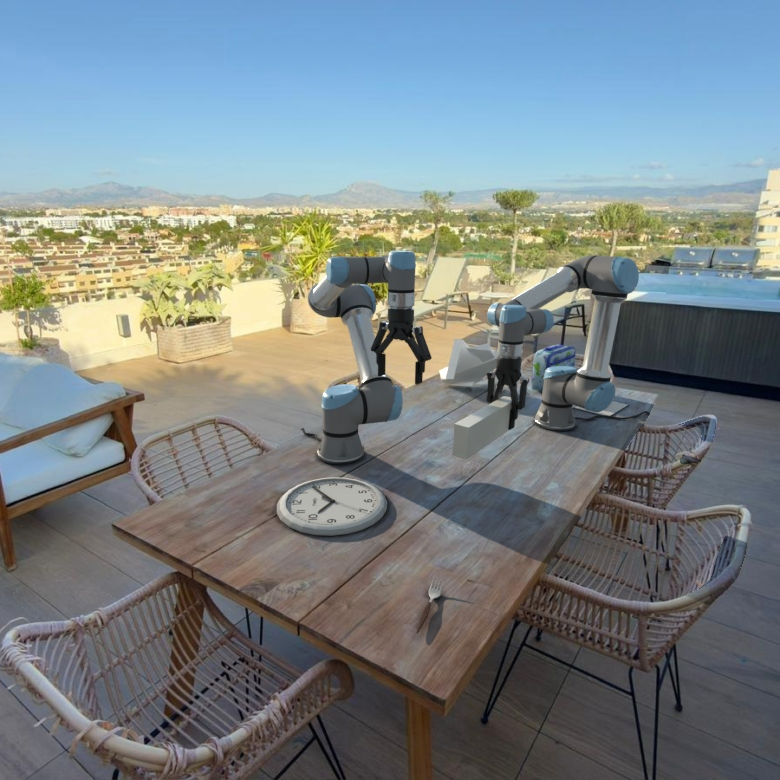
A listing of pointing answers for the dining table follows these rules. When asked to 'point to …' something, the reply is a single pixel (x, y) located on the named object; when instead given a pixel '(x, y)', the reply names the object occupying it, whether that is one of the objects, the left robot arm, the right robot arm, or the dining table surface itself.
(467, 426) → the bar
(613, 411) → the invitation card
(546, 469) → the dining table surface
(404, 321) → the left robot arm
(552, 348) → the lunch box
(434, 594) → the fork
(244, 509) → the dining table surface
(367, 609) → the dining table surface
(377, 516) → the wall clock
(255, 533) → the dining table surface
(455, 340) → the white plastic object
